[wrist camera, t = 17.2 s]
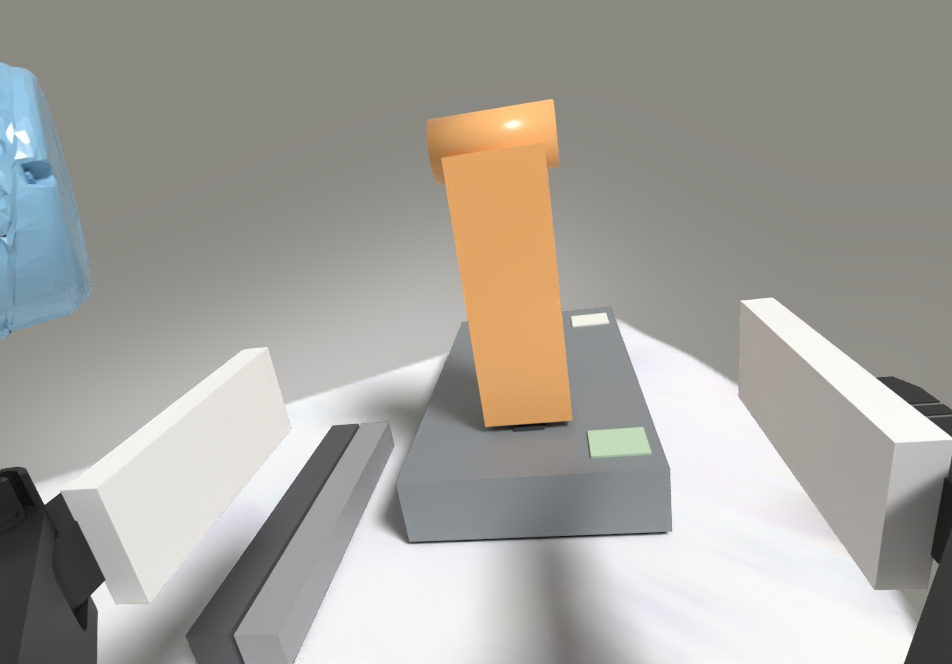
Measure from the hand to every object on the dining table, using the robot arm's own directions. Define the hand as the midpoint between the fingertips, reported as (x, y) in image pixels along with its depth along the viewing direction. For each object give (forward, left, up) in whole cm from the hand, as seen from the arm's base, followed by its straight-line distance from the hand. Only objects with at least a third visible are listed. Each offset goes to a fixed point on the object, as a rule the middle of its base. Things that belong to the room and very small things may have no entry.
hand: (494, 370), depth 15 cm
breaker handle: (0, +10, -7) cm, 12 cm away
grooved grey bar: (-10, +6, -10) cm, 15 cm away
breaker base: (0, +15, -10) cm, 18 cm away
